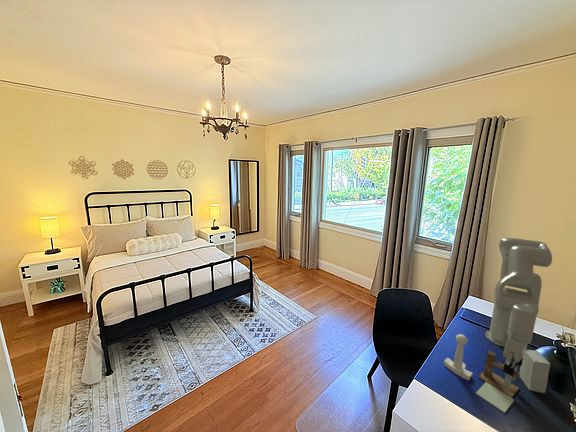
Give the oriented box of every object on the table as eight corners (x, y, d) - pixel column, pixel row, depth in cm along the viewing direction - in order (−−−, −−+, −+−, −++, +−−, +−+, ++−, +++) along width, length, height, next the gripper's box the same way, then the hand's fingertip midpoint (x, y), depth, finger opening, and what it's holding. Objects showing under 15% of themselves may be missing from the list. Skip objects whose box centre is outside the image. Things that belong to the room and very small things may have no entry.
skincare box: (545, 394, 105) (552, 365, 102) (528, 390, 107) (534, 362, 104) (533, 377, 113) (539, 350, 110) (517, 374, 115) (522, 348, 112)
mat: (485, 383, 111) (485, 381, 111) (514, 400, 102) (514, 399, 102) (475, 393, 106) (475, 392, 106) (504, 413, 97) (504, 412, 97)
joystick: (442, 365, 121) (447, 330, 117) (450, 358, 125) (455, 324, 121) (467, 381, 112) (473, 344, 108) (475, 374, 115) (481, 338, 111)
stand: (486, 370, 118) (490, 347, 115) (519, 389, 107) (524, 364, 105) (478, 377, 114) (482, 354, 111) (512, 398, 103) (517, 373, 101)
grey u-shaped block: (509, 376, 109) (512, 362, 108) (514, 379, 108) (518, 364, 106) (503, 384, 106) (506, 369, 104) (508, 387, 104) (511, 372, 103)
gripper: (515, 322, 109) (508, 355, 112) (499, 336, 100) (493, 371, 104) (538, 331, 103) (530, 366, 106) (523, 347, 94) (516, 384, 97)
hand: (512, 368), depth 105 cm, fingers open, 9 cm apart
